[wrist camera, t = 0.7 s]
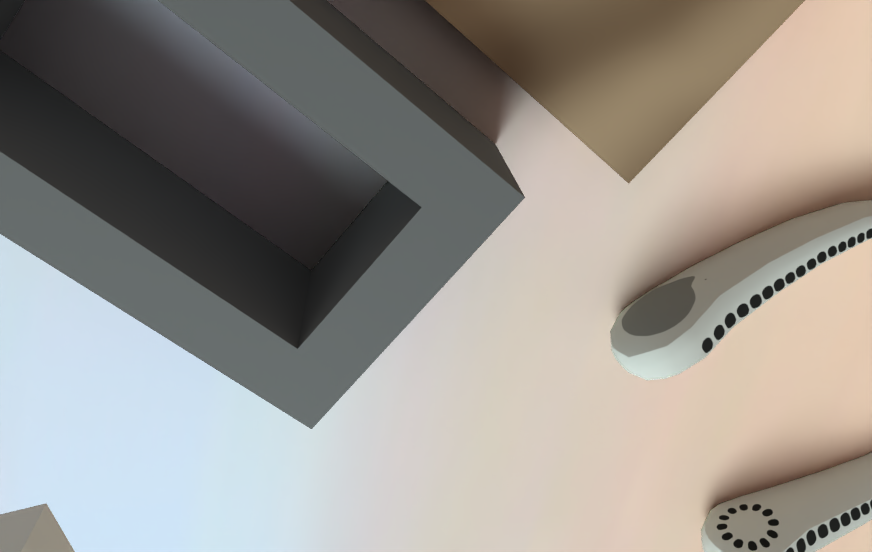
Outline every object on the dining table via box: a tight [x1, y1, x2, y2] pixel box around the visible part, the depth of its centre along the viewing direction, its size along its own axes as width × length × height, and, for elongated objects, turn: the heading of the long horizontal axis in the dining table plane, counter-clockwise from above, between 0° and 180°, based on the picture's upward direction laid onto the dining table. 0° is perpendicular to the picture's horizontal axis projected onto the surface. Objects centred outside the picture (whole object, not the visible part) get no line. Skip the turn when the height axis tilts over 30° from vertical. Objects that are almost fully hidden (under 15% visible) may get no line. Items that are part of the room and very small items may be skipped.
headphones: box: [610, 200, 872, 552], centre depth 37 cm, size 18×17×5 cm
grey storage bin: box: [0, 0, 525, 429], centre depth 28 cm, size 20×12×7 cm, turn 49°
